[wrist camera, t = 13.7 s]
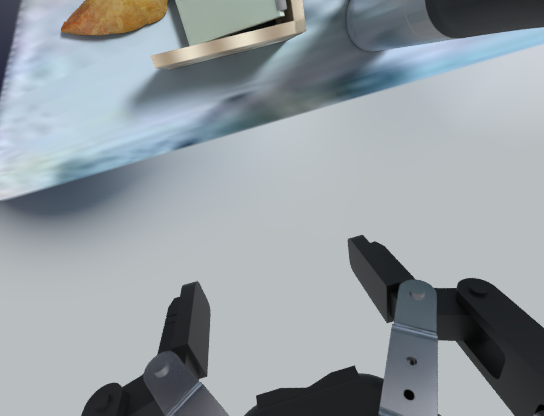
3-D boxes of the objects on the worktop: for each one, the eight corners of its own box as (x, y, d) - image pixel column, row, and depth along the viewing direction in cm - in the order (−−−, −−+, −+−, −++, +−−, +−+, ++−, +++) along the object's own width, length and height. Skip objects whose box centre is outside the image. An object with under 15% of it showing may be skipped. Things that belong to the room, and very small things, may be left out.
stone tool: (178, 7, 33) (73, 53, 34) (182, 11, 35) (82, 54, 36) (157, -44, 31) (44, 7, 32) (162, -37, 33) (56, 11, 34)
